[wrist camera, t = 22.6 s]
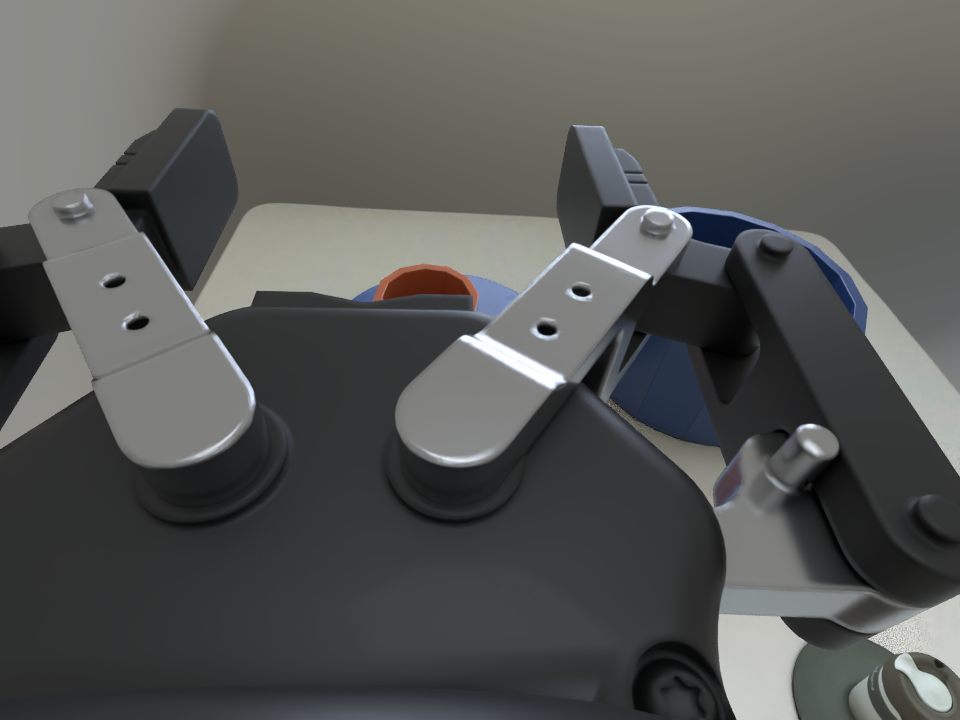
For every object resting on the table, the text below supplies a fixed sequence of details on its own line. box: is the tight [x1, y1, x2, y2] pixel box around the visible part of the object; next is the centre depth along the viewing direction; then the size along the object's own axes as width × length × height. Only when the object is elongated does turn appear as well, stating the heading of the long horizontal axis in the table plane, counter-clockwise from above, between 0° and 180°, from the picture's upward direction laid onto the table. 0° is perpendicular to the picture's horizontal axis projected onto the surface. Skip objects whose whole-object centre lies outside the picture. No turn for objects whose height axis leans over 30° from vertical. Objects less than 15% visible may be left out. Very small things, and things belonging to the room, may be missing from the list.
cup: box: [373, 264, 479, 311], centre depth 34 cm, size 6×6×10 cm
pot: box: [610, 207, 868, 446], centre depth 41 cm, size 18×18×8 cm
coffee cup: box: [793, 639, 960, 720], centre depth 25 cm, size 12×12×5 cm
